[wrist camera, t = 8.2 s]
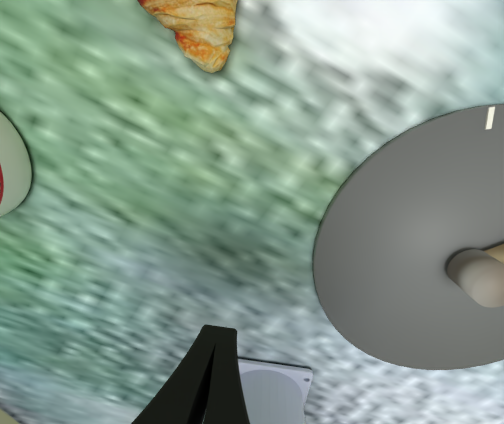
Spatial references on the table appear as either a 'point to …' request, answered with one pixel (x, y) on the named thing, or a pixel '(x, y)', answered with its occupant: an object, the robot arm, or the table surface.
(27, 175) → the fruit juice
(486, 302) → the pointer
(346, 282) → the dial
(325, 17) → the table surface
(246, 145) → the table surface
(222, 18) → the croissant
